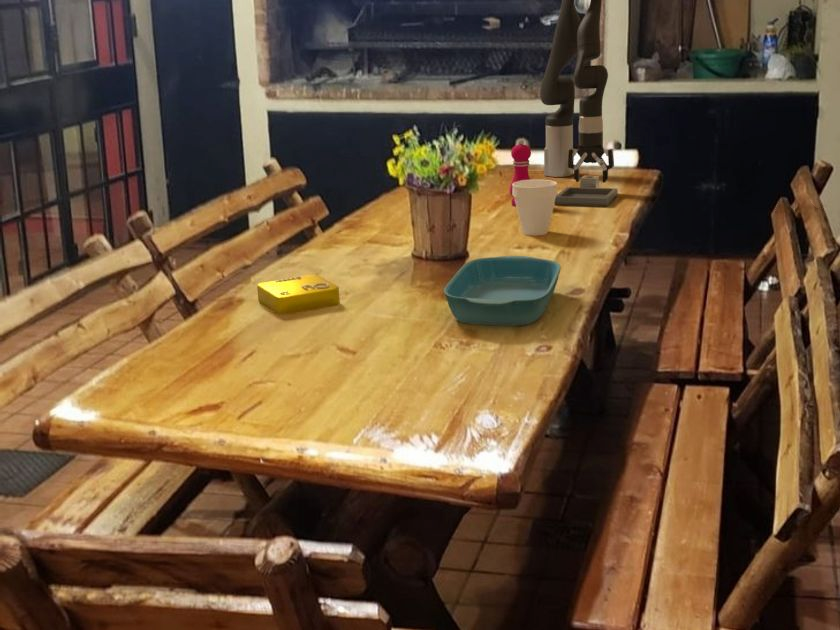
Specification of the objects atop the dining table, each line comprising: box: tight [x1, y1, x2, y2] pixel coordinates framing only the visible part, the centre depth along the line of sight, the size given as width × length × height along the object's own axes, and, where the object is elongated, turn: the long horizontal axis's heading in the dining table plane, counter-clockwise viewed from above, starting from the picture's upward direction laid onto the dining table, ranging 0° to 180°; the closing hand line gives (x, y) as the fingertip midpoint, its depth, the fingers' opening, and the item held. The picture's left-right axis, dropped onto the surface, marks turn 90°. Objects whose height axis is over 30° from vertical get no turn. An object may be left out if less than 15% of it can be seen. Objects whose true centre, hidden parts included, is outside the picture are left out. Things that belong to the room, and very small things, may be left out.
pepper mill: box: [509, 138, 532, 207], centre depth 352 cm, size 7×7×20 cm
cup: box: [511, 178, 558, 236], centre depth 316 cm, size 12×12×14 cm
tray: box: [554, 186, 619, 208], centre depth 356 cm, size 16×16×2 cm
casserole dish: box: [443, 255, 562, 327], centre depth 250 cm, size 37×22×7 cm, turn 166°
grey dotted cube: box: [579, 174, 600, 188], centre depth 368 cm, size 5×5×5 cm
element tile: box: [256, 273, 340, 316], centre depth 260 cm, size 15×15×5 cm
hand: (590, 181), depth 368 cm, fingers open, 8 cm apart
